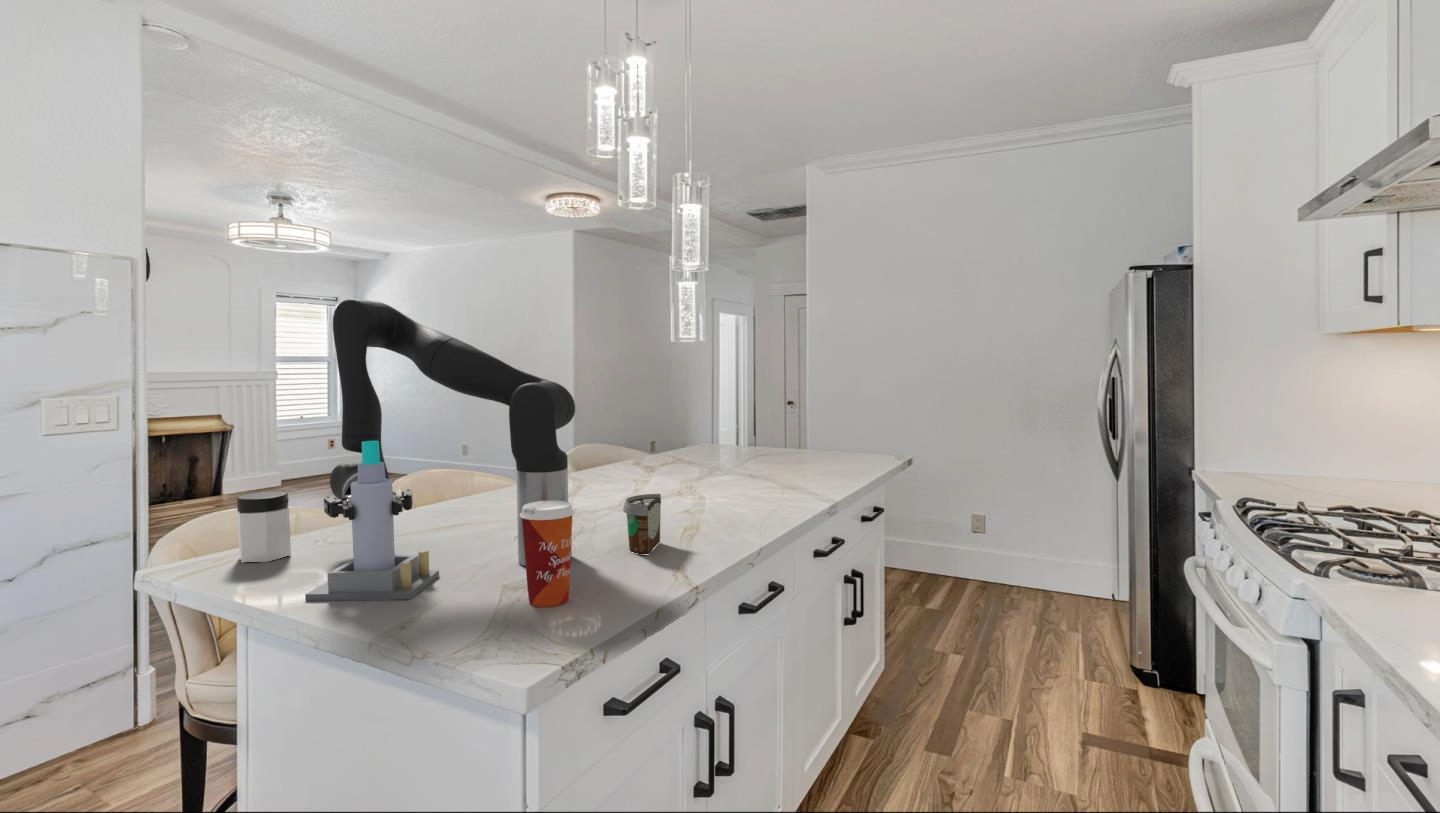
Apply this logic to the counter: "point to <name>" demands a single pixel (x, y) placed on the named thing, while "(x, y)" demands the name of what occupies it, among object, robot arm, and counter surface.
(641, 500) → the food container
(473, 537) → the counter surface
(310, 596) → the dock
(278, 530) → the jar
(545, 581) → the coffee cup
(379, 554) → the spray bottle
